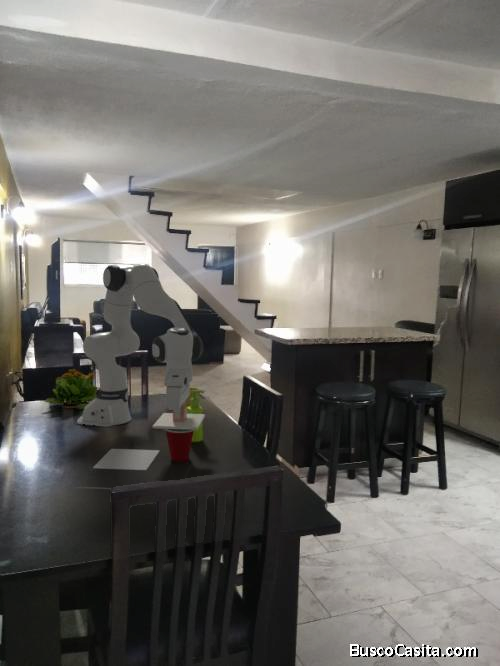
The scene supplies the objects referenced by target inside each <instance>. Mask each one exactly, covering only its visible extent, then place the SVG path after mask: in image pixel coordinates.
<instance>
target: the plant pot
mask: <svg viewBox="0 0 500 666" xmlns="http://www.w3.org/2000/svg"><path fill="white" fill-rule="evenodd" d="M195 389H198V390H200V388H196V387H190V395H189V397H188V398H187V399H186V400H185V406H187V407H189V406H190V399H191V398H192V397H193V393H192V392H191V390H195ZM200 395H201V393H200V392H197V397H198V398H199V399H200V397H201V396H200Z"/></svg>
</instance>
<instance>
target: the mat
mask: <svg viewBox="0 0 500 666" xmlns="http://www.w3.org/2000/svg"><path fill="white" fill-rule="evenodd" d="M159 452H160V450H159V449H135V448H134V449H128V448H124V449H123V448H110V450H108V452H107V453H106V454H104V455H103V457H101V459H99V461H97V463H95V465H94V466H93V467H92V469H99V470H100V469H102V470H103V469H104V470H126V471H127V470H129V471H131V470H134V471H147V469H149V467H150V466H151V464H152V462H153V461H154V460H155V458H156V457H157V455H158V454H159Z"/></svg>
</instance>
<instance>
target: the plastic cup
mask: <svg viewBox="0 0 500 666" xmlns="http://www.w3.org/2000/svg"><path fill="white" fill-rule="evenodd" d="M164 430H165V433H166V434H165V435H166V438H167V439H166V440H167V443H168V450H169V453H170V454H169V455H170V459H171V461H172V462H174V463H175V462H176V463H182V462H186V461H188V460H189V459H190V452H191V447H192V443H193V442H192V437H193V434H194V431H195V430H192V429H164Z"/></svg>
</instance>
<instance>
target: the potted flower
mask: <svg viewBox="0 0 500 666" xmlns="http://www.w3.org/2000/svg"><path fill="white" fill-rule="evenodd" d="M94 377H95V373H93V372H89V373H88V374H87V375H85V374H83V373H82V372H81V371H78V370H76V369H75V368H73V369H68V372H65V373H64V374H62V375H61V376H58V377H56V379H54V380H55V388H53V389H52V392H53V394H54V395H55V396H56V398H55V397H50V398H46V399H45V400H44V401H43V402H45V403H48V404H56V405H61V406H63V407H65V408H64V409H66V408H76V409H77V410H84V408H85V406H86V405H88V404H89V403H90V402H91V401H92V400H94V399H95V398H96V397H97V396H96V395H95V392H96V391H97V390H98V389H99V388H98V387H97V386H95V385H94V384H92V383H93V379H94ZM63 407H62V408H63Z"/></svg>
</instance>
